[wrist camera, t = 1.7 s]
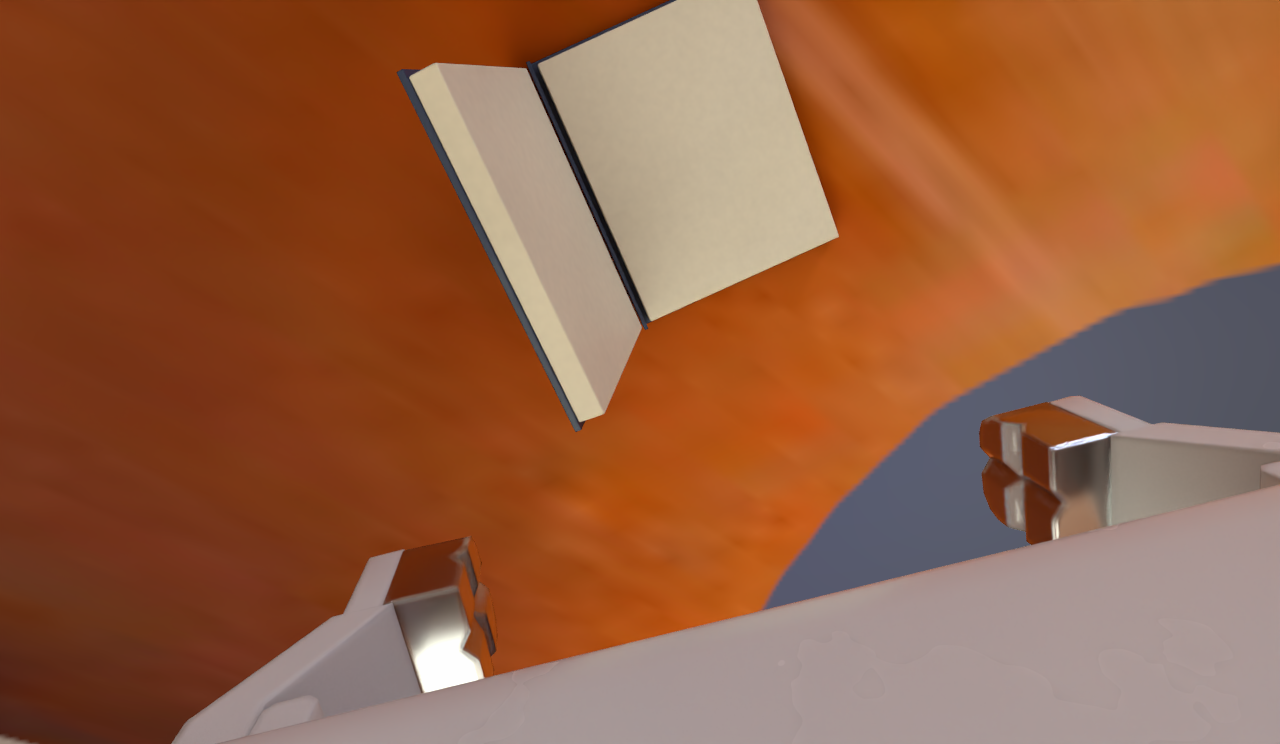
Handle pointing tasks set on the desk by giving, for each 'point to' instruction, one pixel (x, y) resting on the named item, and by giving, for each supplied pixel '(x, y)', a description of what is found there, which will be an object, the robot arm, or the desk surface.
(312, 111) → the desk surface
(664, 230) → the book
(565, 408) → the book cover
